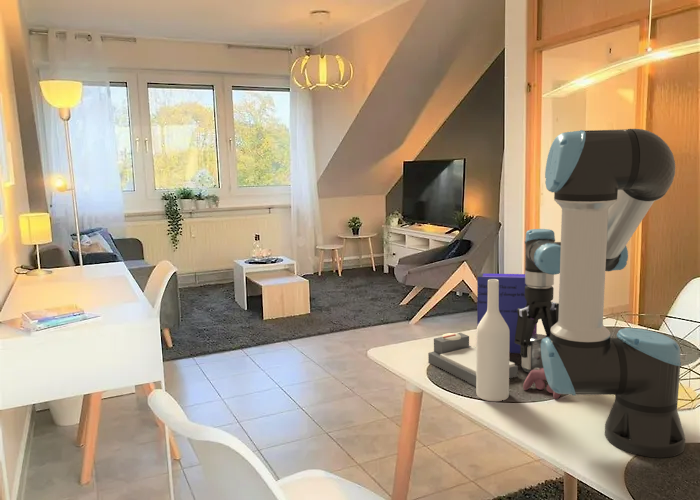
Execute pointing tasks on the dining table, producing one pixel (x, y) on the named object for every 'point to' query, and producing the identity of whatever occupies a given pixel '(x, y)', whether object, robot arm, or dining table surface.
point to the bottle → (492, 350)
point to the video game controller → (538, 381)
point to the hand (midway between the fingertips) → (537, 364)
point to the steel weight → (536, 351)
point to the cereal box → (504, 301)
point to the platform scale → (459, 357)
